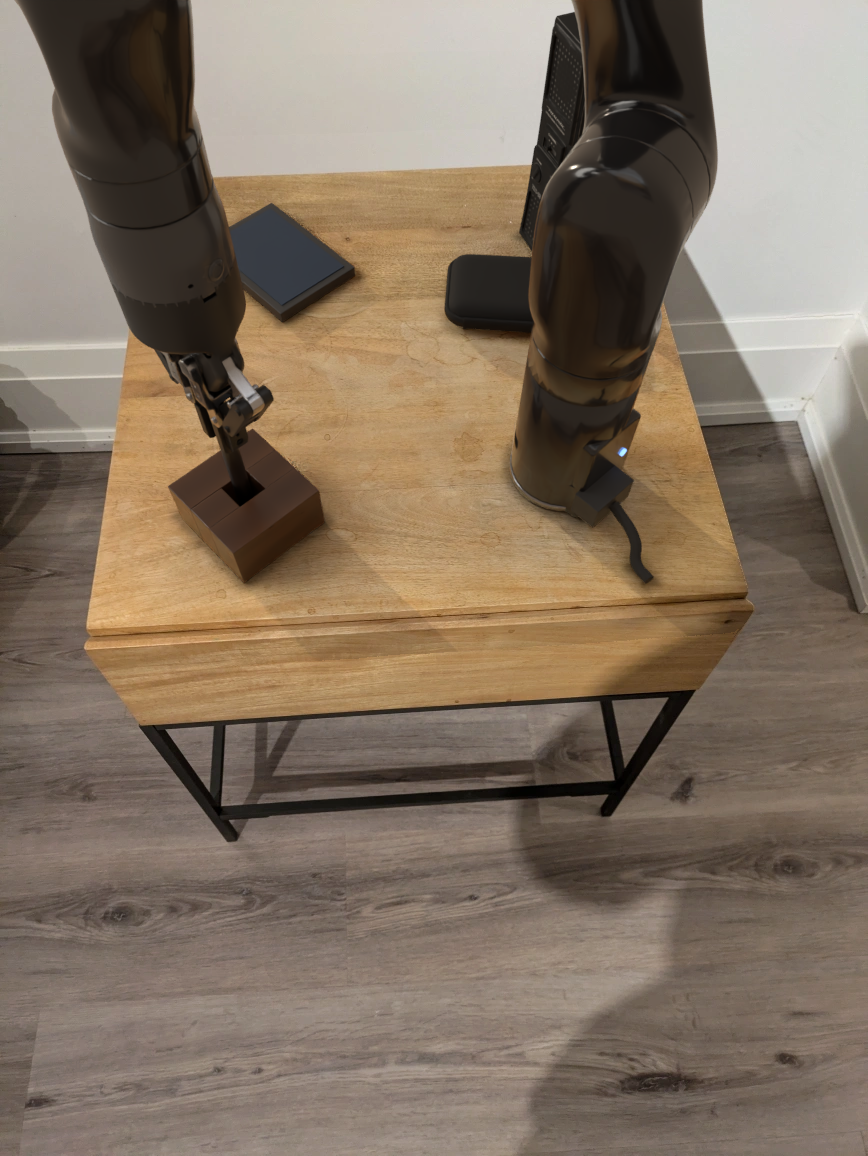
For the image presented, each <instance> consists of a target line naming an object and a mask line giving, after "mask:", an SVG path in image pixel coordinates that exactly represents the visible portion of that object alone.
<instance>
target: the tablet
mask: <svg viewBox="0 0 868 1156" xmlns="http://www.w3.org/2000/svg"><path fill="white" fill-rule="evenodd" d="M229 230H230V234H231V238H232V243H233V247H234V251H235V255H236V260H237V264H238V268H239V273H240V277H241V281H242V286H243V290H244V292H246V293H247V294H248V295H249V296H251V297H252V298H253V299H254V300H255V301H256V302H258V303H259V304H260V305H261V306H262V307H263V308H265V309H266V310H267V311H269V313H271V314H272V315H273V316H274V317H276V318H277V319H278V320H279V321H280V322H281V323H283V322H285V321H287V320H288V319H290V318H291V317H293V316H295V315H296V314H298V313H299V312H301V311H303V310H304V309H306V308H307V307H309V306H310V305H312V304H314V303H315V302H316V301H318V300H320V299H321V298H323V297H324V296H326V295H328V294H329V293H331V292H332V291H334V290H336V289H337V288H338V287H341V286H342V285H343V284H345V283H346V282H348V281H350V280H351V279H353V278H354V277H355V276H356V268H355V266H354V265H352V264H351V263H350V262H349V261H348V260H346V259H345V258H344V257H343V256H341V254H339V253H338V252H336V251H335V250H333V249H332V248H331V247H329V246H328V245H327V244H325V242H323V241H322V240H321V239H319V238H318V237H317V236H315V235H314V234H313V233H311V231H309V230H308V229H306V228H305V227H303V225H302V224H300V223H299V222H297V221H296V220H295V219H293V218H292V217H291V216H289V214H287V213H286V212H285V211H283V210H282V209H281V208H279V207H278V206H277V205H276V204H275V203H273V202H270V203H268V204H266V205H265V206H263V207H262V208H259V209H258V210H256V211H255V212H253V213H251V214H249V215H247V216H246V217H243V218H242V219H241V220H238V221H237V222H235V223H233V224H231V225H230V226H229Z"/></svg>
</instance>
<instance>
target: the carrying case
mask: <svg viewBox="0 0 868 1156" xmlns="http://www.w3.org/2000/svg"><path fill="white" fill-rule="evenodd" d="M531 258H532V256H520V255H519V256H518V255H497V254H495V255H494V254H480V253H479V254H476V253H466V254H461V255H459V256H457V257H456V258H455V259H453V260H452V261H451V262H450V263H449V264H448V266H447V271H446V273H447V274H446V284H445V285H446V286H445V296H444V308H443V309H444V315H445V316H446V318H447V319H448V321H449V322H451V323H452V324H454V325H455V326H457V327H459V328H462V329H463V330H478V331H492V332H493V331H494V332H508V333H510V332H512V333H526V334H531V331H532V323H533V318H532V315H531V312H530V308H529V302H528V289H529V279H530V268H531Z"/></svg>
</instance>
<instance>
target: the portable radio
mask: <svg viewBox="0 0 868 1156" xmlns="http://www.w3.org/2000/svg"><path fill="white" fill-rule="evenodd" d="M547 59H548V60H547V66H546V72H545V73H546V74H545V80H544V89H543V94H542V102H541V112H540V113H541V114H540V121H539V127H538V134H537V139H536V141H537V142H536V145H535V146H534V148H533V153H532V158H531V164H530V165H531V166H530V172H529V177H528V183H527V184H528V185H527V191H526V195H525V202H524V206H523V212H522V216H521V222H520V226H519V230H518V234H520V236H521V238H522V240H523V241H524V242H525V244H526V245H527V246H528V248H529V249H530V251H531V252H532V248H533V239H534V231H535V224H536V219H537V214H538V209H539V205H540V201H541V198H542V195H543V193H544V190H545V188H546V186H547V184H548V182H549V180H550V179H551V177H552V175H553V174H554V173H555V171H556V170H557V169H558V167H559V166H560V164H561V163H562V162H563V160H564V159H565V157H566V156H567V155H568V153H569V152H570V151H571V149H572V148H573V146H574V145H575V144H576V142H577V141H578V140H579V138H580V137H581V135H582V133H583V128H584V122H585V91H584V73H583V61H582V51H581V42H580V36H579V29H578V23H577V19H576V15H575V11H572V12H568V13H564V14H559V15H556V17H555V18H554V24H553V27H552V30H551V38H550V46H549V51H548V58H547Z"/></svg>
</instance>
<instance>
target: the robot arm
mask: <svg viewBox="0 0 868 1156" xmlns="http://www.w3.org/2000/svg"><path fill="white" fill-rule="evenodd" d="M570 1H571V4H572V7H573V10H574V11H573V12H575V15H576V19H577V23H578V29H579V36H580V42H581V51H582V61H583V73H584V91H585V122H584V128H583V133H582V135H581V137H580V138H579V140H578V141H577V142H576V144H575V145H574V146H573V148H572V149H571V151H570V152H569V153H568V155H567V156H566V157H565V159H564V160H563V162H562V163H561V164H560V166H559V167H558V169H557V170H556V171H555V173H554V174H553V175H552V177H551V179H550V180H549V182H548V184H547V186H546V188H545V190H544V193H543V195H542V198H541V201H540V205H539V209H538V214H537V219H536V224H535V231H534V239H533V248H532V251H531V257H532V258H531V268H530V279H529V289H528V302H529V308H530V312H531V315H532V318H533V323H532V331H531V333H530V337H529V338H530V339H529V344H528V350H527V355H526V362H525V369H524V373H523V374H524V375H523V381H522V388H521V392H520V393H521V394H520V400H519V406H518V412H517V418H515V419H514V420H515V421H516V422H515V424H514V426H513V431H514V434H513V435H512V436H513V437H512V441H513V442H512V447H511V452H510V455H509V456H510V457H509V463H508V467H509V468H508V470H509V475H510V478H511V481H512V483H513V485H514V486H515V488H516V489H517V491H518V492H519V493H520V494H521V496H523V497H524V498H525V499H526V500H527V501H529V502H531V503H533V504H534V505H536V506H538V507H541V508H544V509H547V510H550V511H557V512H565V513H567V514H569V515H570V516H571V517H572V518H577V517H578V518H580V519H581V520H582V521H583V522H584V523H586V524H587V525H588V527H590V528H592V529H593V528H594V527H596V526H598V524H599V523H600V522H601V521H602V520H604V519H605V518H606V517H607V516H608V515H609V514H612V515H613V517H614V518H615V519H616V521H617V522H618V523H619V525H620V526H621V528H622V529H623V531H624V532H625V534H626V537H627V539H628V542H629V547H630V548H629V563H630V566H631V568H632V570H633V572H634V573H635V575H636V576H637V577H638V578H639V579H640V580H641V581H642V582H643V583H644V585H645V584H648V583H650V582H651V581H652V580H653V579H654V578H655V577H654V575H653V574H652V573H651V571H649V570H648V568H646V567H645V565H644V564H643V561H642V549H643V544H642V539H641V536H640V534H639V532H638V529H637V527H636V526H635V523H634V522H633V520H632V519H631V517H630V516H629V515H628V513H627V512H626V511H625V509H624V508H623V506H622V503H623V502H624V501H625V500H626V499H627V498H629V495H630V493H631V490H632V487H633V484H634V482H635V479H633V477H632V476H630V475H629V474H627V473H626V472H625V471H623V468H624V466H625V463H626V460H627V458H628V454H629V452H630V449H631V446H632V443H633V440H634V437H635V435H636V432H637V429H638V426H639V423H640V421H641V418H642V414H641V412H639V411H638V410H637V409H635V405H636V402H637V398H638V395H639V393H640V389H641V387H642V384H643V381H644V378H645V375H646V374H647V373H646V372H647V369H648V366H649V363H650V360H651V357H652V356H653V355H652V354H653V352H654V350H655V347H656V344H657V341H658V338H659V335H660V332H661V329H662V325H663V324H662V323H663V312H662V307H663V304H664V300H665V297H666V294H667V291H668V287H669V284H670V282H671V278H672V276H673V273H674V270H675V268H676V265H677V262H678V260H679V257H680V255H681V252H682V251H683V249H684V247H685V246H686V244H687V242H688V240H689V238H690V236H691V235H692V234H693V231H694V229H695V228H696V226H697V225H698V222H699V221H700V219H701V217H703V214H704V212H705V211H706V209H707V207H708V205H709V203H710V201H711V198H712V195H713V191H714V188H715V184H716V180H717V175H718V166H719V165H718V163H719V152H718V151H719V150H718V136H717V128H716V127H717V126H716V119H715V109H714V101H713V94H712V86H711V76H710V67H709V59H708V50H707V41H706V40H707V39H706V31H705V19H704V5H703V0H570ZM14 2H15V3H16V4H17V5H18V7H19V9H20V10H21V12H22V14H23V16H24V18H25V19H26V21H27V24H28V26H29V28H30V30H31V32H32V35H33V36H34V38H35V41H36V44H37V45H38V48H39V50H40V52H41V55H42V58H43V59H44V62H45V65H46V69H47V70H48V74H49V76H50V80H51V81H52V84H53V87H54V89H53V93H52V96H51V113H52V117H53V118H52V119H53V123H54V124H53V125H54V128H55V131H56V134H57V138H58V141H59V143H60V146H61V149H62V152H63V155H64V157H65V160H66V162H67V165H68V167H69V170H70V172H71V175H72V177H73V180H74V182H75V185H76V188H77V190H78V192H79V195H80V198H81V200H82V203H83V206H84V209H85V212H86V216H87V220H88V224H89V229H90V233H91V237H92V241H93V242H94V245H95V248H96V250H97V252H98V255H99V257H100V260H101V262H102V265H103V267H104V270H105V273H106V275H107V277H108V280H109V282H110V284H111V287H112V289H113V292H114V294H115V297H116V299H117V302H118V305H119V307H120V310H121V312H122V315H123V318H124V319H125V322H126V324H127V327H128V329H129V330H130V332H131V333H132V334H133V336H134V337H135V339H137V340H138V341H139V342H140V343H142V344H143V345H144V346H146V347H148V348H150V349H152V350H154V352H155V354H156V355H157V357H158V359H159V360H160V362H161V363H162V365H163V367H164V369H165V371H166V372H167V373H168V377H169V379H170V380H171V381H172V382H174V383H175V384H176V385H181V386H182V389H183V392H184V395H185V397H186V399H187V400H188V401H189V402H190V403H192V404H193V405H194V408H195V411H196V414H197V417H198V420H199V422H200V426H201V428H202V431H203V433H204V434H206V436H207V437H208V438H210V439H213V438H216V440H217V444H218V446H219V449H220V448H221V449H222V450H223V451H224V452H225V453H226V454H229V453H231V452H234V451H235V450H237V449H238V448H240V447H241V446H243V445H244V444H246V443H247V442H248V434H247V432H248V430H247V427H248V426H250V425H252V424H253V423H256V422H257V421H259V420H260V419H261V418H262V417H263V415H264V414H265V412H267V410H268V409H269V407H270V406H271V404H272V403H274V399H275V398H274V395H273V392H272V391H271V389H270V388H268V387H267V385H265V384H262V385H261V386H259V385H258V384H256V383H254V384H253V385H252V384H251V383H250V381H249V379H248V378H247V377H246V376H245V374H244V372H243V371H244V370H245V360H244V357H243V354H242V353H241V350H240V349H241V348H240V346H239V342H238V340H237V338H236V337H237V334H238V332H239V329H240V327H241V325H242V323H243V320H244V318H245V314H246V309H247V300H246V295H245V290H244V289H243V286H242V281H241V277H240V273H239V268H238V264H237V260H236V255H235V251H234V247H233V243H232V238H231V234H230V230H229V227H230V226H229V222H228V217H227V213H226V210H225V205H224V203H223V201H222V198H221V196H220V193H219V191H218V189H217V185H216V184H215V179H214V176H213V174H212V170H211V166H210V161H209V157H208V153H207V148H206V144H205V140H204V136H203V132H202V128H201V127H202V125H201V122H200V119H199V115H198V113H197V112H198V111H197V110H196V107H195V89H196V64H195V63H196V62H195V60H196V59H195V37H194V36H195V35H194V18H193V6H192V0H14ZM224 401H226V402H225V403H223V404H222V405H220V404H221V403H222V402H224ZM206 409H207V410H206ZM207 411H208V412H207Z"/></svg>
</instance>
